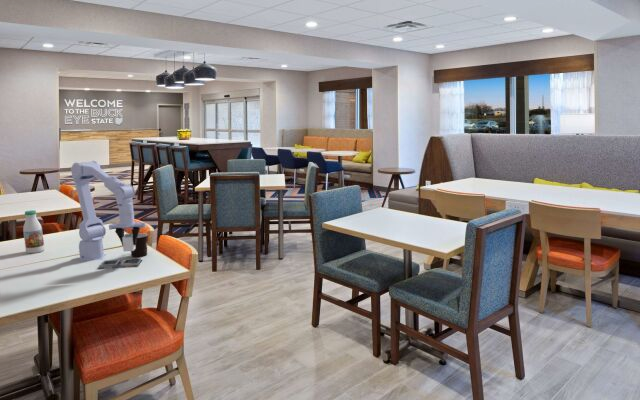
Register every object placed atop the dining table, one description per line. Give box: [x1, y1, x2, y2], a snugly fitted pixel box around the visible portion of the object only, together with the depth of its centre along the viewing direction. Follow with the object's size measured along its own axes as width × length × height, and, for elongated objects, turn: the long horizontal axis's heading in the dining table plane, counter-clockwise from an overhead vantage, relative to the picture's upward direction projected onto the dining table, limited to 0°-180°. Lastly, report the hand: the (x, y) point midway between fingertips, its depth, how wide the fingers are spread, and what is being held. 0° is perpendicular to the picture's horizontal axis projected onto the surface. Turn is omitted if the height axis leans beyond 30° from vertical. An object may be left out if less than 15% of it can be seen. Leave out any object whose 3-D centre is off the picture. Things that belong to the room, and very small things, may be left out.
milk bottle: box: [22, 209, 45, 254], centre depth 222 cm, size 8×8×20 cm
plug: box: [122, 233, 136, 252], centre depth 197 cm, size 4×4×7 cm
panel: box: [97, 257, 143, 271], centre depth 199 cm, size 16×10×2 cm, turn 99°
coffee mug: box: [130, 232, 149, 259], centre depth 213 cm, size 12×9×10 cm
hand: (129, 244), depth 198 cm, fingers closed on plug, 4 cm apart
